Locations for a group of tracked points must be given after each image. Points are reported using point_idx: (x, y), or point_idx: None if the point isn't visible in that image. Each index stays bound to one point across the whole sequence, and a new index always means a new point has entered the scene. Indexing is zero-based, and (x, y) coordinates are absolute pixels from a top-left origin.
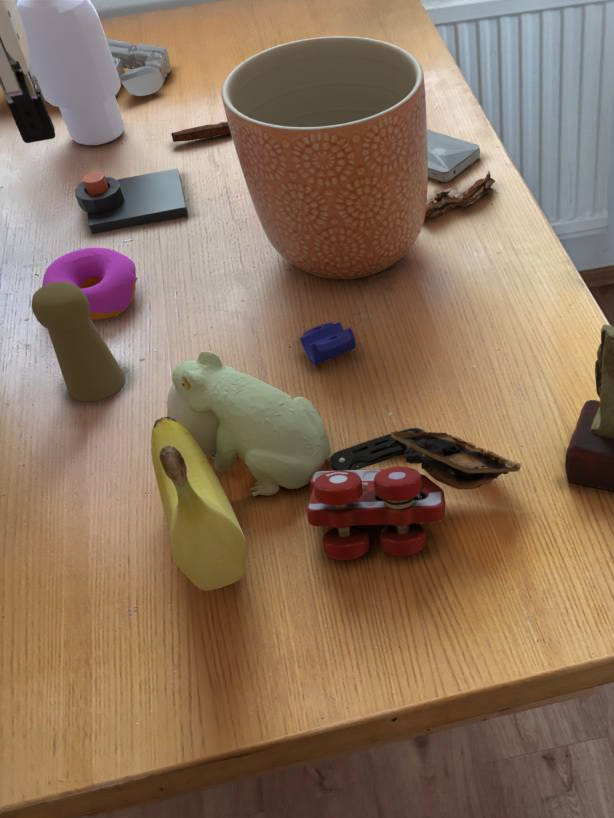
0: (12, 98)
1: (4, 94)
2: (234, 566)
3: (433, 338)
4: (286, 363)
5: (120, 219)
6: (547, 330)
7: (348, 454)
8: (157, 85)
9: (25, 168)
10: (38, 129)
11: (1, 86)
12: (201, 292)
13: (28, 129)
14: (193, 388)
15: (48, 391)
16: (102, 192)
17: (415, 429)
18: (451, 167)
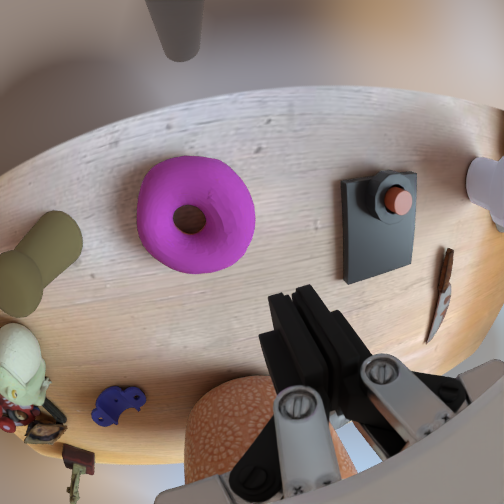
0: (261, 432)
1: (277, 428)
2: None
3: (146, 430)
4: (106, 374)
5: (347, 220)
6: (159, 455)
7: None
8: (498, 227)
9: (454, 111)
10: (265, 359)
11: (280, 457)
12: (201, 314)
13: (262, 346)
14: None
15: (45, 192)
16: (386, 206)
17: (64, 420)
18: None
